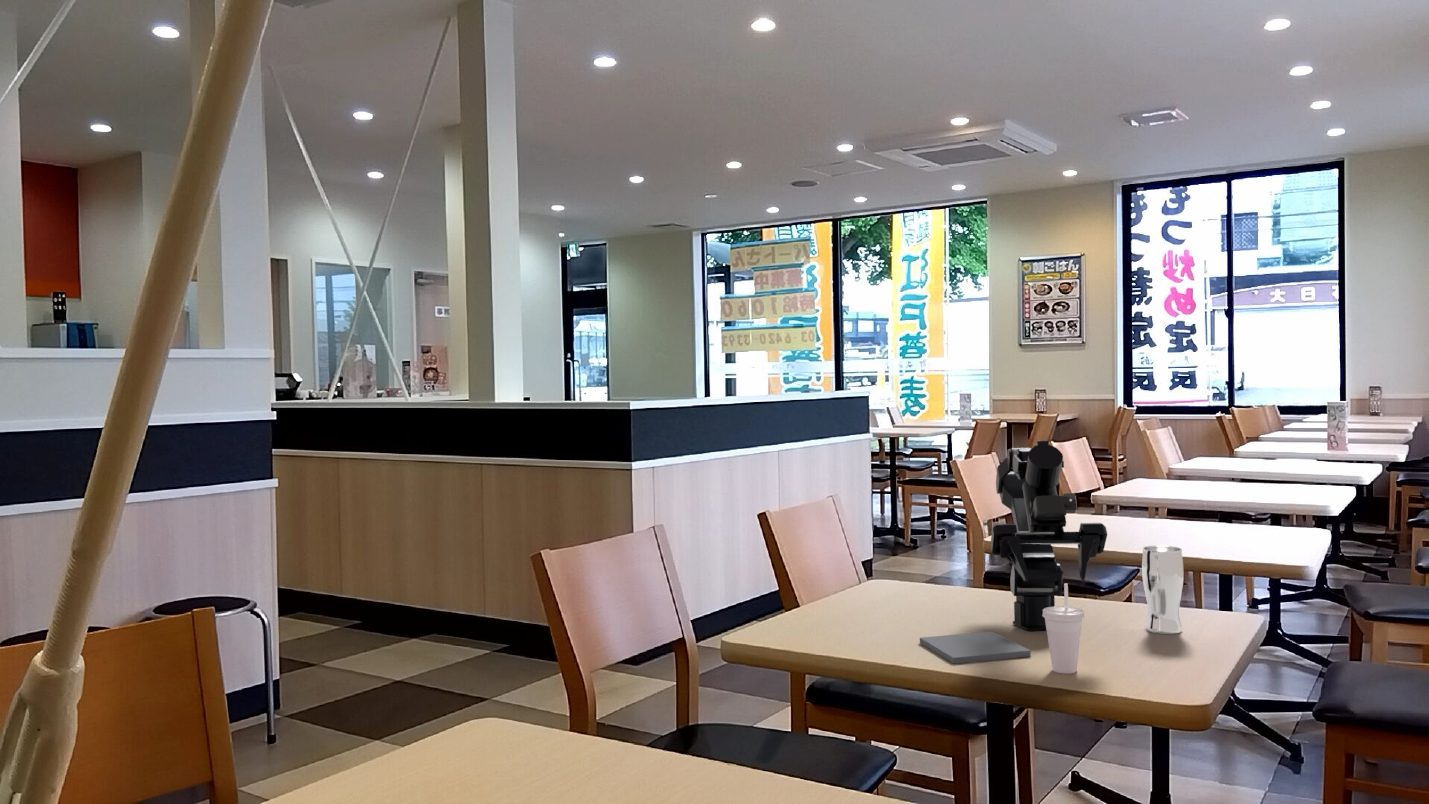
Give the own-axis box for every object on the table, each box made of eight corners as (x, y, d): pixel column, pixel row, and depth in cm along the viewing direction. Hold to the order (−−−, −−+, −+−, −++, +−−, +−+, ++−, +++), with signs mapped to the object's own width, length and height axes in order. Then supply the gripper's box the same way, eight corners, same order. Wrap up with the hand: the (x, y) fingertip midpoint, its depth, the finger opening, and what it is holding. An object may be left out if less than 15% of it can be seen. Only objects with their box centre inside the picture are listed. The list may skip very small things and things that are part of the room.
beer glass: (1134, 628, 193) (1133, 547, 193) (1163, 624, 196) (1161, 544, 196) (1164, 636, 187) (1162, 553, 187) (1193, 631, 190) (1191, 549, 189)
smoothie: (1091, 675, 165) (1089, 587, 165) (1050, 676, 165) (1048, 588, 165) (1077, 664, 172) (1075, 579, 171) (1038, 665, 172) (1036, 580, 172)
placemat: (991, 636, 191) (991, 631, 191) (1030, 656, 177) (1030, 650, 177) (919, 643, 188) (919, 637, 188) (953, 663, 174) (953, 657, 174)
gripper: (991, 477, 181) (1000, 552, 171) (1103, 475, 179) (1120, 551, 168) (987, 516, 189) (996, 590, 179) (1094, 515, 187) (1110, 590, 176)
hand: (1054, 579), depth 175 cm, fingers open, 9 cm apart
